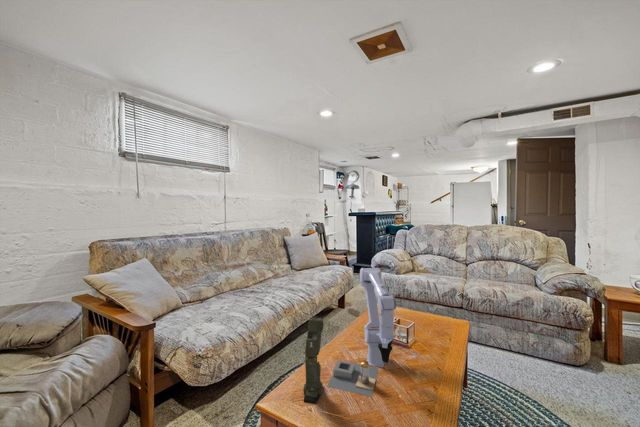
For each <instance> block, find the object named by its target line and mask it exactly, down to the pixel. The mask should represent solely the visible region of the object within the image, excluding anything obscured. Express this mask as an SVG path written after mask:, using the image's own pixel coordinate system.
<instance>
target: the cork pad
mask: <svg viewBox="0 0 640 427" xmlns="http://www.w3.org/2000/svg"><path fill="white" fill-rule="evenodd" d="M376 380H377V378H376V379H373V378H369V384H362V383H361V376H359V377H358V380H357V383H356V387H358V388H362V389H367V390H371V391H373V392H374V390H373V389H375V384H376Z"/></svg>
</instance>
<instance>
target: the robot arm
mask: <svg viewBox="0 0 640 427" xmlns="http://www.w3.org/2000/svg"><path fill="white" fill-rule="evenodd" d="M381 279H382V271H381V268H380V267H367V268H366V267H361V268H360V270H359V280H360V284H361V287H364V288H363V289H364V291H365V298H366V307H367V312H368V314H367V316H368V322H367V323H366V324H365V325H364V328H363V330H364V332H363V335H364V341H365V342H366V344H367V357H366V361H368V362H369V366H372V367H377V368H384V365H385V363H386V364H388V363H389V360H390V355H391V352H392V351H393V346H392V345H393V344H392V343H393V341H394V339H395V335H394V334H395V333H394V328H395V327H394V326H395V325H394V322H395V321H394V320H395V319H394V318H395V317H394V316H395V314H394V313H395V310H396V309H397V300H396V298H395V295H394V294H390V292H389V290H388V288H387V286H386V285H385V284H383V283H382V280H381Z"/></svg>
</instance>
